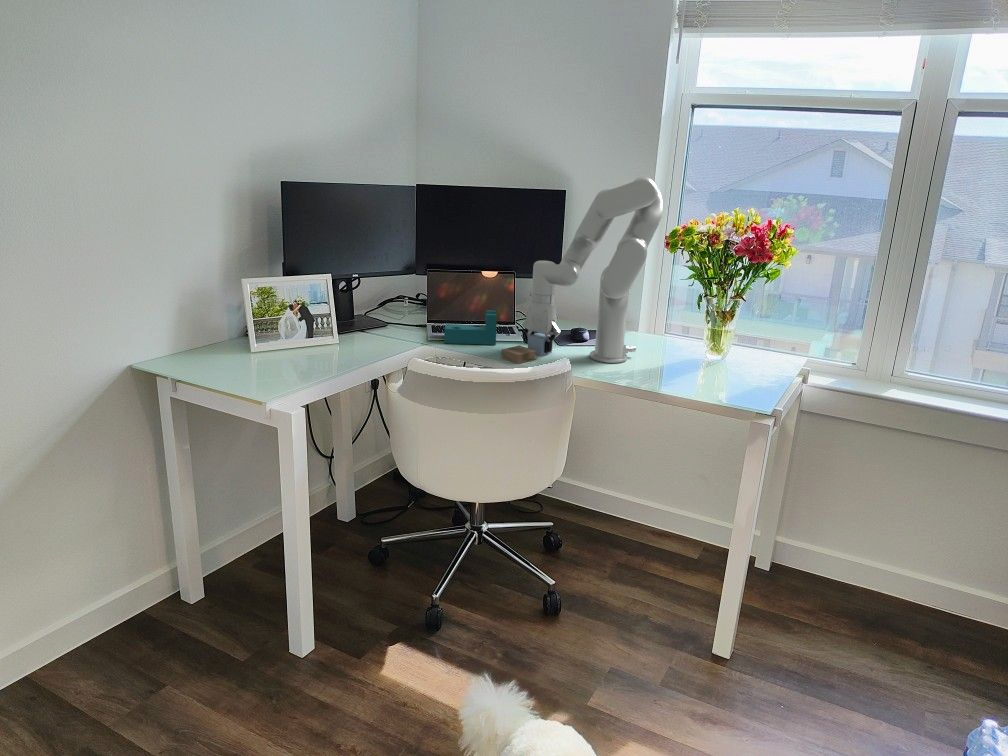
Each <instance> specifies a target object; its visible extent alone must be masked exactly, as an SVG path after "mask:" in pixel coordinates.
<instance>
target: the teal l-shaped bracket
mask: <svg viewBox="0 0 1008 756" xmlns="http://www.w3.org/2000/svg"><path fill="white" fill-rule="evenodd" d="M497 315H498V314H497V310H485V325H484V324H459V323H458V324H455V323H446V324H445V326H444V331H443V333H444V337H443V338H444V339H443V343H444V344H455V345H456V344H457V345H458V344H460V345H487V346H488V345H489V346H492V345H493V346H494V345H497V323H498V322H497V321H498V318H497Z"/></svg>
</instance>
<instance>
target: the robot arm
mask: <svg viewBox="0 0 1008 756" xmlns="http://www.w3.org/2000/svg"><path fill="white" fill-rule="evenodd" d="M632 212H634V214H633V215H632V218H631V219H630V222H629V224H628V226H627V228H626V229H625V232H624V234H623V235H622V237H621V238H620V239H619V241H618V243H617V244H616V245H617V246H616V249H615V252H614V254H613V256H612V258H611V260H610V262H609V263H608V266H606V267H605V268H604V269H603V271H602V272H601V274H600V278H599V279H600V281H599V282H600V284H599V296H598V297H599V298H598V308H597V309H598V310H597V318H596V319H597V320H596V321H597V322H596V330H595V331H596V332H595V343H594V344H595V345H594V350H592V351H590V352H589V358H591V359H592V360H594V361H595V362H596V361H597V362H602V363H608V364H619V363H624V362H626V361H627V360H628V355H627V354H628V352H629V353H635V352H636V350H637V347H636V345H632V346H631V345H630V346H629V345H628V344H626V345H625V337H626V325H627V316H628V315H627V314H628V307H629V306H628V305H629V295H630V290H631V288H632V286H633V284H634V283H635V281H636V280H637V277H638V275H639V274H640V272H641V270H642V268H643V266H644V264H645V262H646V260H647V256H648V247H649V245H650V244H651V241H652V240H653V237H654V236H655V233H656V231H657V229H658V227H659V225H660V222H661V219H662V218H663V217H662V216H663V214H664V213H663V212H664V203H663V196H662V193H661V191H660V189H659V188H658V185H657V184H656V183H655V181H654V180H653V179H652V178H650V177H648V176H639V177H637V178H635V179H634V180H633V181H631V182H627V183H625V184H622V185H619V186H617V187H614V188H605V189H602V190H600V191H599V192H598V193H597V194H596V196H595V197H594V199H593V201H592V202H591V204H590V206H589V208H588V209H587V212H586V213H585V215H584V217H583V219H582V220H581V222H580V224H579V226H578V228H577V229H576V231H575V234H574V237H573V239H572V242H571V243H570V245H569V246H568V249H567V250H566V252H565V254H564V256H563V257H562V260H561V261H560V262H559V264H557V263H555V262H553V261H550V260H537V261H535V262H534V263H533V269H532V285H531V286H532V287H531V292H530V293H529V296H530V297H531V300H529V302H528V305H527V309H526V314H525V320H524V321H523V322H522V323H521V325H522V327H523V329H524V331H525V332H526V335H527V337H528V336H529V335H532V334H536V333H542V334H545V336H546V340H547V341H545V350H544V352H545V353H548V352H551V351H552V352H553V344H552V341H554V340H555V339H556V338H557V337H558V336H560V334H561V330H560V328H559V327H558V326H557V308H556V303H555V291H556V286H558V287H559V286H560V287H565V288H567V287H572V286H574V285H575V284H576V283H577V281H578V280H579V276H580V275H581V274H580V273H581V272H582V270H583V268H584V267H585V264H586V262H587V261H588V260H589V258H590V256H592V255H591V254H592V253H593V251H594V250H595V249H596V248H598V247H599V245H600V244H601V242H602V241H603V238H604V237H605V235H606V233H607V231H608V230H609V227H610V226H611V224H612V222H613V221H614V219H615V218H617V217H620V216H624V215H626V214H629V213H632ZM549 335H550V337H549Z"/></svg>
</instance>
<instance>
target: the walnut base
mask: <svg viewBox="0 0 1008 756" xmlns="http://www.w3.org/2000/svg"><path fill="white" fill-rule="evenodd" d="M501 359H504V360H506V361H509V362H512V363H515V364H516V365H517V364H518V365H519V364H523V363H527V362H532V361H536V360H537V355H536V351H535V350H532V349H529V348H528V347H525V346H523V345H516V346H511V347H507V348H502V349H501Z"/></svg>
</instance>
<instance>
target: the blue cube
mask: <svg viewBox="0 0 1008 756" xmlns="http://www.w3.org/2000/svg"><path fill="white" fill-rule="evenodd" d="M549 337H550V335H549ZM545 341H547V340H546V336H545V334H542V333H538V332H536V333H535V334H532V335H529V336H527V348H529V349H532V350H535V351H536V356H539V357H543V356H547V355H549V354H553V350H552V351H551V352H548V353H545V352H544V350H545ZM553 341H554V340H553ZM553 341H552V345H553V343H554V342H553Z"/></svg>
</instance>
